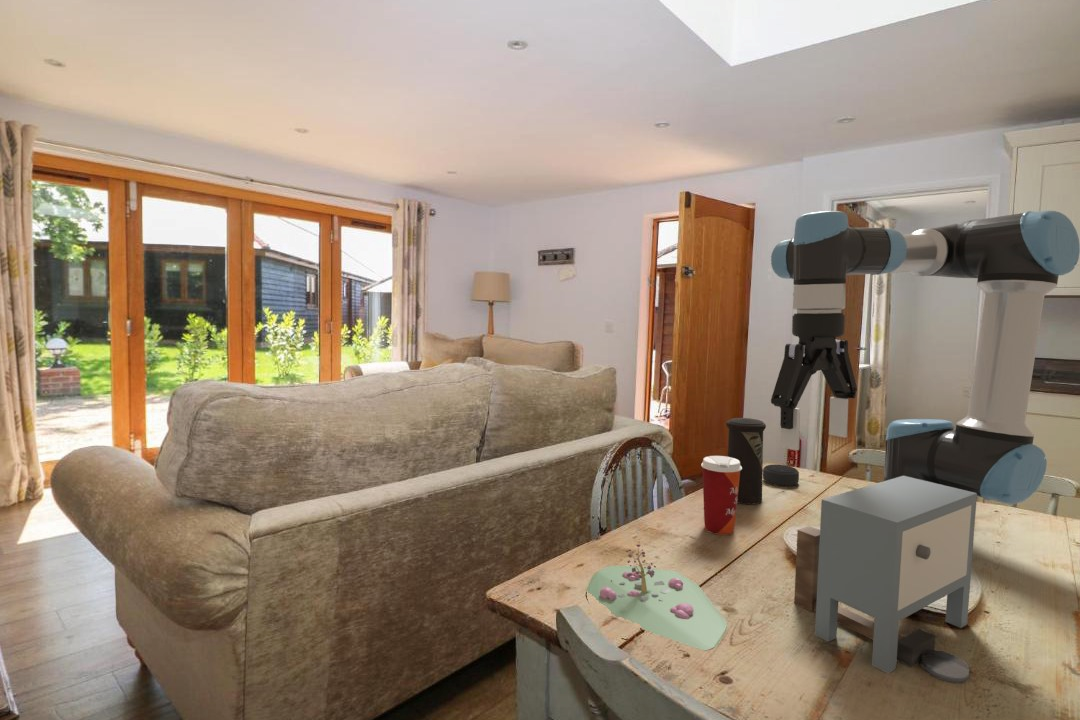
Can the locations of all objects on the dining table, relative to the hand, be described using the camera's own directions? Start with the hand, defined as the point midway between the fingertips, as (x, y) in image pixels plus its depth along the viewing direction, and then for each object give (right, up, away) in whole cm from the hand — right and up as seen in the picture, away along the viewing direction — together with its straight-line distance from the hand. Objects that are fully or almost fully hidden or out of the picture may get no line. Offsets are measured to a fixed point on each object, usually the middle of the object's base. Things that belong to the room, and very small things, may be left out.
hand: (814, 442), depth 92 cm
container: (+5, -21, +46) cm, 51 cm away
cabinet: (+6, -26, -10) cm, 28 cm away
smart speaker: (+20, -20, +60) cm, 66 cm away
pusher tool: (+2, -26, -9) cm, 28 cm away
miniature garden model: (-26, -26, -3) cm, 37 cm away
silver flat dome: (+7, -27, -19) cm, 34 cm away
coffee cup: (-7, -23, +27) cm, 36 cm away
